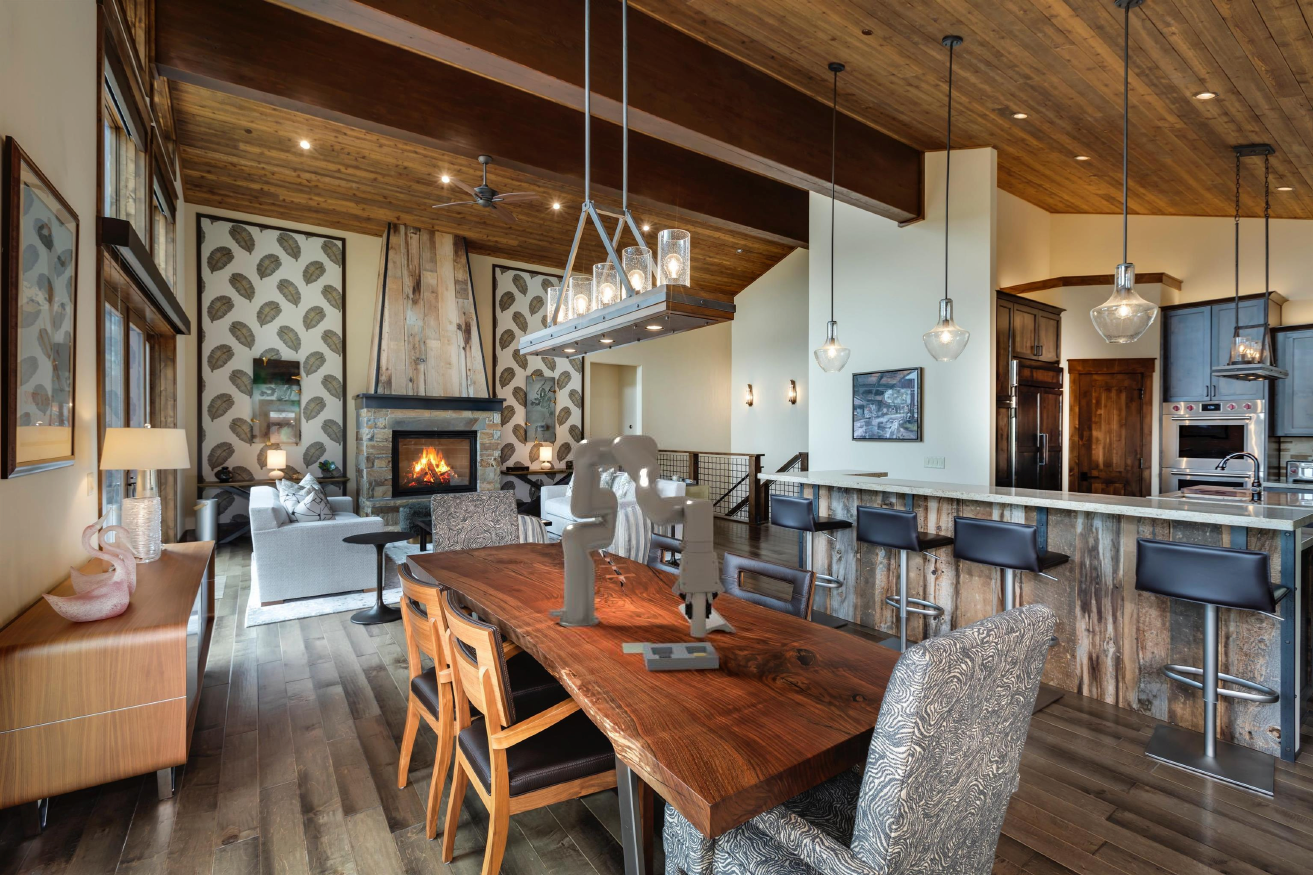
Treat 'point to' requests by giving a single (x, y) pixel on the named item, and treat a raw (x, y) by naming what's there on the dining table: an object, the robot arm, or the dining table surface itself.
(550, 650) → the dining table surface
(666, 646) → the socket block
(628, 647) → the square base plate
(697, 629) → the plug
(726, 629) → the crown molding
